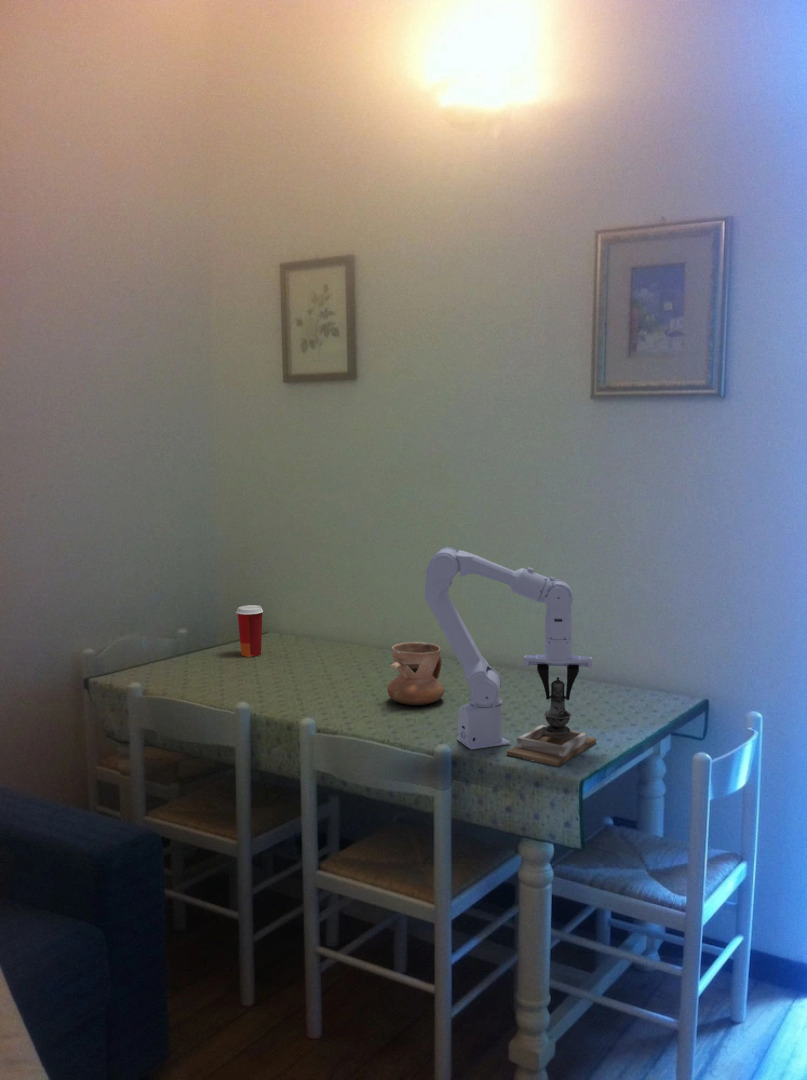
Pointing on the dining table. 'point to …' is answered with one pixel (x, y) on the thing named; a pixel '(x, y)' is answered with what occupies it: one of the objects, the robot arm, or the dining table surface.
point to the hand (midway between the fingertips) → (557, 698)
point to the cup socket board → (550, 745)
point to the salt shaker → (557, 710)
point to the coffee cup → (250, 629)
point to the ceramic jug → (416, 673)
